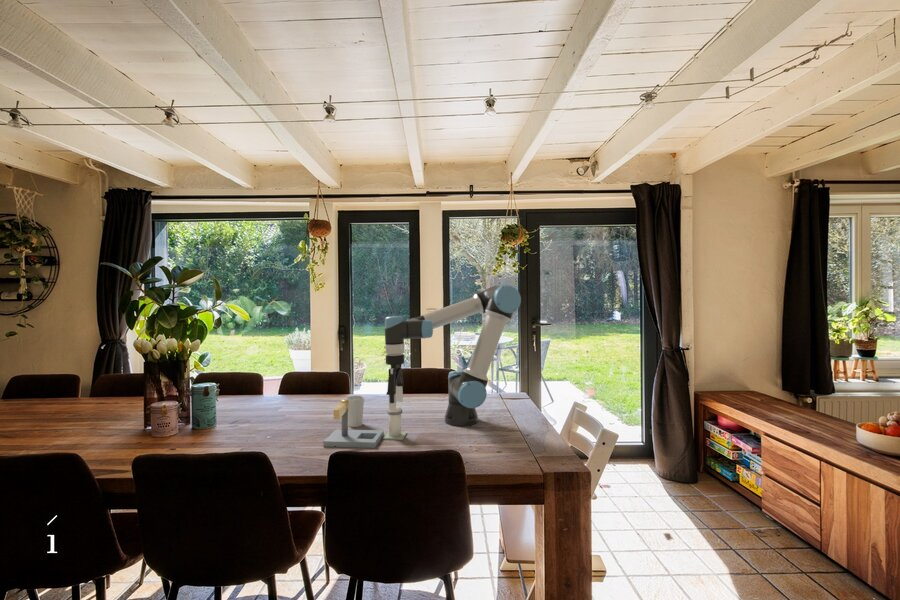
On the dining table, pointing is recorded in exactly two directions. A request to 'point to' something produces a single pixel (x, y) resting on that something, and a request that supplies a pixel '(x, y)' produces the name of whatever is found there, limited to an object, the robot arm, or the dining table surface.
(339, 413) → the clip
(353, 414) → the cup
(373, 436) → the socket board
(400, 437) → the mat
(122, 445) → the dining table surface
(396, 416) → the cream banded cylinder
